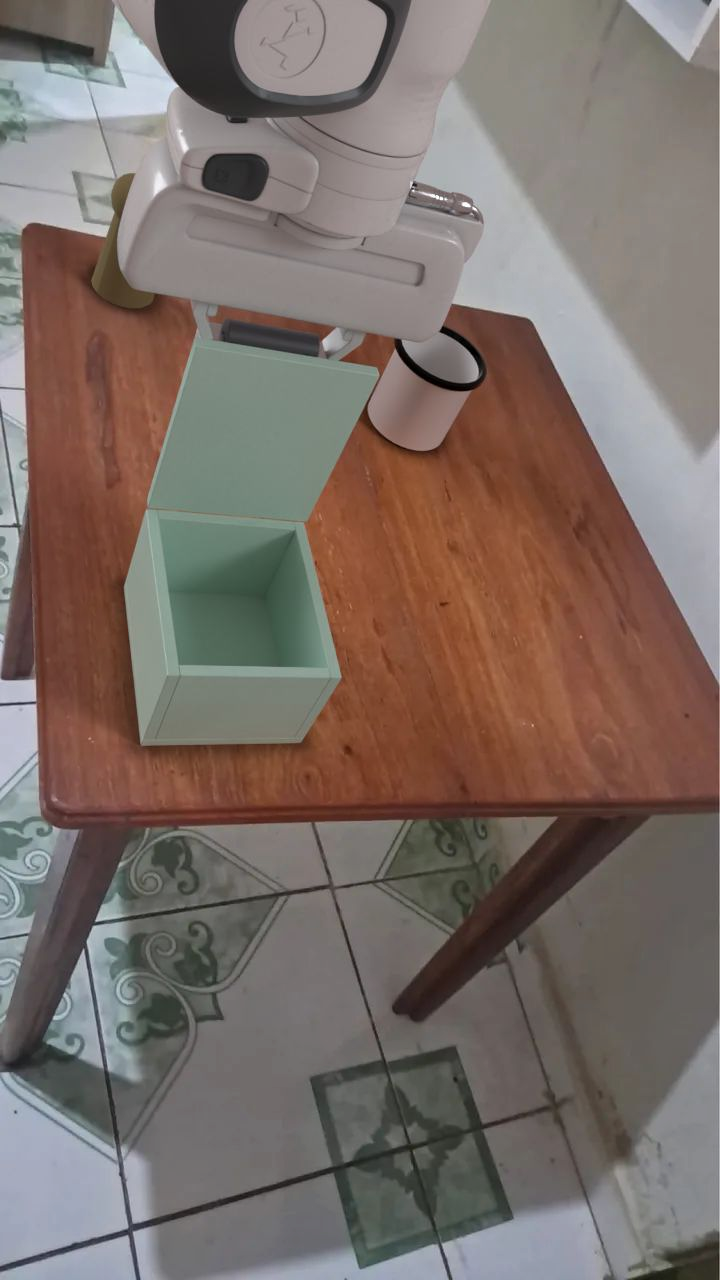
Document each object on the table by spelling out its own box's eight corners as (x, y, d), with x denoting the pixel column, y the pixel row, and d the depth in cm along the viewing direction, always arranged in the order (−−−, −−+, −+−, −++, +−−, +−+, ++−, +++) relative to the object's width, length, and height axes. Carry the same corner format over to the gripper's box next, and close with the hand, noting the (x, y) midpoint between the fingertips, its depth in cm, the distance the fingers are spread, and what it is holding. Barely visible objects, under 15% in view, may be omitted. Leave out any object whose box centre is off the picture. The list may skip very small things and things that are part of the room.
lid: (380, 375, 59) (362, 319, 61) (196, 346, 54) (185, 286, 57) (307, 522, 69) (294, 469, 72) (147, 508, 65) (140, 452, 67)
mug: (396, 464, 92) (435, 392, 85) (343, 397, 95) (377, 323, 88) (481, 444, 99) (523, 377, 92) (430, 382, 102) (467, 313, 95)
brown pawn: (143, 269, 95) (166, 166, 87) (162, 309, 93) (187, 207, 85) (83, 266, 92) (101, 159, 84) (101, 307, 90) (121, 200, 82)
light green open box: (300, 743, 69) (342, 677, 63) (140, 746, 64) (167, 675, 58) (269, 594, 76) (304, 522, 70) (123, 587, 72) (145, 508, 65)
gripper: (481, 174, 57) (392, 356, 68) (141, 79, 49) (98, 303, 59) (512, 235, 54) (414, 417, 64) (153, 145, 46) (105, 371, 56)
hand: (260, 362), depth 62 cm, fingers closed on lid, 6 cm apart
